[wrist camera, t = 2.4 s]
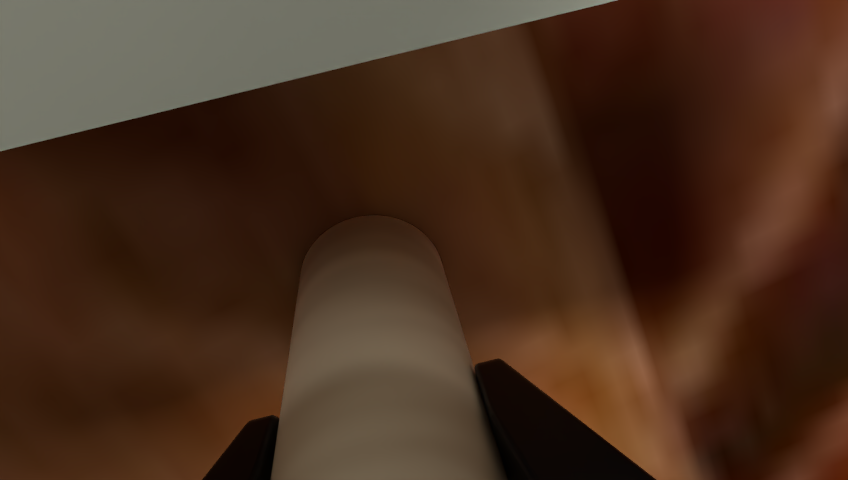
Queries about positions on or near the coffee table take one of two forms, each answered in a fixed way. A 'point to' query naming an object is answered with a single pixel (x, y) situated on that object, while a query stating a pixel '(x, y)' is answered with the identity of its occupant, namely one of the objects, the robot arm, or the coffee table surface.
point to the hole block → (206, 50)
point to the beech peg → (380, 366)
